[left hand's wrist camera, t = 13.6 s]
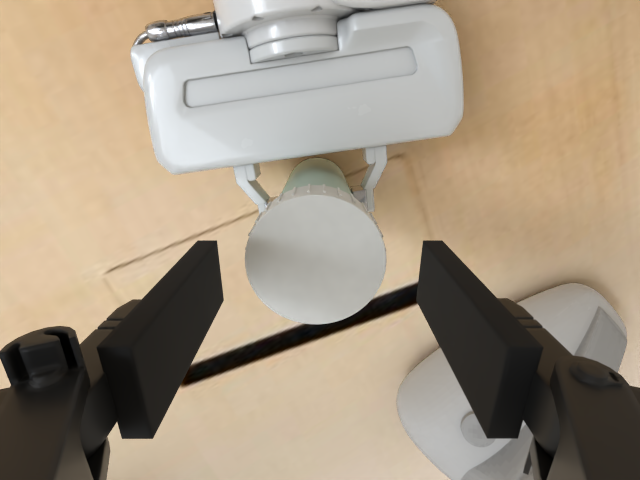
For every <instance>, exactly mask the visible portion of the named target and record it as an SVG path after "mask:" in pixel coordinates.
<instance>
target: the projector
mask: <svg viewBox="0 0 640 480" xmlns="http://www.w3.org/2000/svg"><path fill="white" fill-rule="evenodd" d="M516 304H518V305H520V306H522V307H523V308H524V309H525V310H526V311H527V312H529V313H530V314H531V315H532V316H533V317H534V319H536V320H537V321H538V322H539V323H540V324H541V325H542V327H543V328H545V329H546V330H547V331H548V332H549V333H550V334H551V335H552V336H553V337H555V338H556V339H557V340H558V341H559V342H560V343H561V344H562V345H563V346H564V347H565V348H566V349H567V350H568V351H569V352H570V353H571V354H572V355H574V356H581V357H586V358H589V359H592V360H595V361H598V362H600V363H602V364H604V365H606V366H608V367H610V368H611V369H613V370H614V371H616V372H617V373H618V370H619V367H620V364H621V361H622V358H623V355H624V352H625V349H626V345H627V339H626V338H627V332H626V328H625V325H624V323H623V321H622V319H621V318H620V316H619V315H618V314H617V312H616V311H615V309H614V308H613V307H612V306H611V305H610V303H609V302H608V301H607V300H606V299H605V298H604V297H603V296H602V295H601V294H600V293H599V292H597V291H596V290H594V289H592V288H591V287H589V286H586V285H583V284H579V283H568V284H563V285H560V286H557V287H554V288H551V289H548V290H545V291H543V292H541V293H538V294H536V295H533V296H531V297H529V298H526V299H524V300H522V301H520V302H517V303H516ZM397 410H398V414H399V417H400V420H401V422H402V425H403V427H404V429H405V431H406V432H407V434H408V436H409V437H410V438H411V440H412V441H413V442H414V443H415V445H416V446H417V447H418V448H419V449H420V450H421V452H422V453H423V454H424V455H425V456H426V457H427V458H428V459H429V460H430V461H431V462H432V463H433V464H434V465H435V466H436V467H437V468H438V469H439V470H440V471H441V472H443V473H444V474H445V475H446V476H447V477H449V478H450V479H451V480H534V477H533V470H532V466H531V468H530V471H529V474H528V475H527V474H524V473H523V470H524V464H525V461H526V458H527V454H528V451H529V448H530V444H531V441H532V438H533V434H532V433H531V431H530V429H529V428H528V426H527V425H526V423H525V422H524V420H523V422H522V426H521V429H520V433H519V437H518V439H487V437H486V435H485V433H484V431H483V430H482V428H481V426H480V424H479V422H478V420H477V418H476V416H475V414H474V412H473V410H472V408H471V406H470V404H469V402H468V400H467V398H466V396H465V394H464V392H463V390H462V388H461V387H460V385H459V383H458V381H457V379H456V377H455V375H454V373H453V371H452V369H451V367H450V365H449V363H448V361H447V359H446V357H445V355H444V353H443V351H442V349H441V347H440V348H438V349H437V350H436V351H434V352H433V353H432V354H430V355H429V356H428V357H426V358H425V359H424V360H423V361H422V362H420V363H419V364H418V365H417V366H416V367H415V368H414V369H413V370H412V371H411V372H410V373H409V374H408V375H407V376H406V377H405V379H404V380H403V382H402V383H401V385H400V387H399V390H398V394H397Z"/></svg>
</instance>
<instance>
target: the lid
mask: <svg viewBox="0 0 640 480" xmlns="http://www.w3.org/2000/svg"><path fill="white" fill-rule="evenodd" d="M255 223H256V224H254V226H253V228H252V230H251V231H250V233H249V235H248V236H250V237H249V239H248V242H247V246H246V249H245V250H246V252H245V267H246V272H247V276H248V279H249V282H250V284H251V286H252V288H253V290H254V292H255V293H256V295H257V296H258V297H259V299H260V300H261V301H262V302H263V303H264V304H265V305H266V306H267V307H268V308H270V309H271V310H272V311H274V312H275V313H277V314H279V315H281V316H282V317H284V318H287V319H290V320H292V321H296V322H300V323H306V324H327V323H332V322H336V321H339V320H342V319H345V318H347V317H349V316H351V315H353V314H355V313H356V312H358V311H359V310H360V309H362V308H363V307H364V306H365V305H366V304H367V303H368V302H369V301H370V300H371V299H372V298H373V297H374V295H375V294H376V292H377V291H378V289H379V287H380V285H381V283H382V280H383V278H384V274H385V269H386V248H385V245H384V242H383V239H382V237H383V235H382V233H381V231H380V229H379V227H378V225H376V224H377V222H376V220H375V219H374V217H373V215H372V213H369V212H368V210H367V209H366V207H365V205H364V203H363V202H362V203H361V202H359V201H358V200H357V199H356V198H354V196H353V194H348V193H346V192H344V191H342V190H340V188H339V187H337V188H333V187H329V186H325V184H323V185H310V184H308V186H302V187H298V188H296V187H294V188H293V189H292V190H290V191H287V192H285V193H284V194H283V193H280V195H279V197H277V198H276V199H275V200H273V201H272V202H271V201H270V202H269V203H268V205H267V207H266V209H265V210H264V211H263V212H262V211H261V213H260V214H259V216H258V218H257V219H256V221H255Z"/></svg>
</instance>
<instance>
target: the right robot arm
mask: <svg viewBox="0 0 640 480" xmlns="http://www.w3.org/2000/svg"><path fill="white" fill-rule="evenodd" d="M435 2H436V0H213V4H214V8H215V11H214V12H207V13H203V14H197V15H191V16H187V17H184V18H181V19H178V20H172V21H167V20H159V21H155V22H152V23H149V24H147V25H146V27H145V30H146V31H144V32H143V33H141V34H140V35H139V36H138V37H137V38H136V39H135V41H134V43H133V46H132V48H131V61H132V64H133V67H134V71H135V74H136V78H137V81H138V84H139V86H140V88H141V89H142V91H143V92H144V97H145V105H146V113H147V119H148V125H149V130H150V135H151V140H152V144H153V149H154V153H155V156H156V159H157V161H158V162H159V164H160V165H162V166H163V167H164V168H165V169H166V170H167V171H169V172H170V173H171V174H174V175H177V174H185V173H192V172H199V171H206V170H213V169H220V168H227V167H233V168H234V173H235V177H236V182H237V184H238V185H239V186H240V187H241V188H242V190H243V191H244V192H245V193H246V194H247V195H248V196H249V197H250V198H251V200H252V201H253V202H254V203H255V204H258V209H259V213H261V211H262V212H263V211H264V210H265V209H266V207H267V205H268V203H269V202H270V201H271V202H272V201H273V200H275V199H276V198H277V197H270V198H269V196H268V194H267V193H266V192H265V191H264V189H263V188H262V187H261V186H260V184H259V183H258V182H257V181H256V178H257V177H258V176H259V175H260V174H261V172H260V167H259V163H262V162H270V161H277V160H284V159H291V158H298V157H305V156H312V155H319V154H326V153H333V152H340V151H347V150H354V149H361V148H362V153H363V160H364V161H365V162H366V163H368V164H369V167H368V169H367V171H366V174H365V176H364V178H363V181H362V183H361V185H358V186H352V187H350V188H351V193H352V194H353V196H354V198H356V199H357V200H358V201H359V202H361V203H362V202H363V203H364V205H365V207H366V209H367V210H368V212H374V209H375V206H374V195H373V188H375V187H376V185H377V183H378V180H379V178H380V176H381V174H382V172H383V170H384V168H385V166H386V164H387V150H386V145H390V144H397V143H404V142H411V141H418V140H425V139H432V138H439V137H446V136H450V135H451V134H452V133H453V132H454V131H455V129H456V128H457V126H458V125H459V123H460V121H461V120H462V117H463V111H464V90H463V73H462V62H461V54H460V46H459V39H458V34H457V31H456V28H455V25H454V23H453V21H452V19H451V17H450V16H449V14H448V13H447V12H446V11H445V10H443V9H442V8H440V7H438V6H436V5H433V4H434V3H435ZM148 38H149V40H150V41H151V42H152V43H146V44H142V43H143V42H144V41H145V40H147V39H148Z"/></svg>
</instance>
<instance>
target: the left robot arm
mask: <svg viewBox="0 0 640 480" xmlns="http://www.w3.org/2000/svg"><path fill="white" fill-rule="evenodd" d="M223 301H224V299H223V290H222V282H221V273H220V264H219V256H218V247H217V241H197V242H196V243H195V244H194V245H193V246H192V247H191V248H190V249H189V250H188V252H187V253H186V254H185V255H184V256H183V257H182V258H181V259H180V260H179V261H178V262H177V263H176V264H175V265H174V266H173V267H172V268H171V269H170V270H169V271H168V273H167V274H166V275H165V276H164V277H163V278H162V279H161V280H160V281H159V282H158V283H157V284H156V285H155V286H154V287H153V288H152V289H151V290H150V291H149V293H148V294H147V295H146V296H145V297H144V298H143V299H142V300H131V301H129V302H128V303H126V304H124V305H122V306H121V307H119V308H117V309H116V310H115V311H114V312H113V313H112V314H111V315H110V316H109V317H108V318H107V320H106V321H104V322H103V323H102V324H101V325H100V326H99V327H98V329H95V330H94V331H93V332H92V333H91V334H90V335H89V336H88V337H87V338H86V339H85V340H84V341H83V342H82V343H81V344H80V345H79V342H78V338H77V335H76V332H75V330H73V329H72V328H70V327H64V326H56V327H47V328H43V329H40V330H36V331H33V332H30V333H28V334H25V335H23V336H21V337H18V338H17V339H15V340H14V341H12V342H10V343H9V344H7V345H6V346H5V347H4V348H3V349H2V350H1V351H0V359H1V361H2V364H3V366H4V369H5V371H6V374H7V376H8V378H9V381H10V383H11V386H10V388H5V389H0V480H106V478H107V471H108V463H109V456H110V446H109V441H108V438H107V436H108V434H109V433H110V431H111V430H112V428H113V427H114V425H115V424H116V422H118V426H119V429H120V433H121V437H122V439H153V437H154V435H155V433H156V431H157V430H158V428H159V426H160V424H161V422H162V420H163V418H164V416H165V414H166V412H167V410H168V408H169V406H170V404H171V402H172V400H173V398H174V396H175V394H176V392H177V390H178V388H179V387H180V385H181V383H182V381H183V379H184V377H185V375H186V373H187V371H188V369H189V367H190V365H191V363H192V361H193V359H194V357H195V355H196V353H197V351H198V349H199V347H200V346H201V344H202V342H203V340H204V338H205V336H206V334H207V332H208V330H209V328H210V326H211V324H212V322H213V320H214V318H215V316H216V314H217V312H218V310H219V308H220V306H221V305H222V303H223ZM416 301H417V303H418V305H419V306H420V308H421V310H422V312H423V314H424V316H425V318H426V320H427V322H428V324H429V326H430V328H431V330H432V332H433V334H434V336H435V338H436V340H437V342H438V344H439V346H440V347H441V349H442V351H443V353H444V355H445V357H446V359H447V361H448V363H449V365H450V367H451V369H452V371H453V373H454V375H455V377H456V379H457V381H458V383H459V385H460V387H461V388H462V390H463V392H464V394H465V396H466V398H467V400H468V402H469V404H470V406H471V408H472V410H473V412H474V414H475V416H476V418H477V420H478V422H479V424H480V426H481V428H482V430H483V431H484V433H485V435H486V437H487V439H518V437H519V433H520V429H521V426H522V422H523V420H524V422H525V423H526V425H527V426H528V428H529V429H530V431H531V433H532V434H533V438H532V441H531V444H530V448H529V451H528V454H527V458H526V461H525V464H524V470H523V473H524V474H527V475H528V474H529V471H530V468H531V466H532V470H533V477H534V480H640V388H638V387H633V386H629V384H628V383H627V382H626V380H625V379H624V378H623V377H622V376H621V375H620V374H618V373H617V372H616V371H614V370H613V369H611V368H610V367H608V366H606V365H604V364H602V363H600V362H598V361H595V360H592V359H589V358H586V357H581V356H574V355H572V354H571V353H570V352H569V351H568V350H567V349H566V348H565V347H564V346H563V345H562V344H561V343H560V342H559V341H558V340H557V339H556V338H555V337H553V336H552V335H551V334H550V333H549V332H548V331H547V330H546V329H545V328H543V327H542V325H541V324H540V323H539V322H538V321H537V320H536V319H534V317H533V316H532V315H531V314H530V313H529V312H527V311H526V310H525V309H524V308H523V307H522V306H520V305H518V304H516V303H515V302H513V301H511V300H509V299H507V298H496V297H495V296H494V295H493V294H492V293H491V291H490V290H489V289H488V288H487V287H486V286H485V285H484V284H483V283H482V282H481V281H480V280H479V279H478V278H477V277H476V276H475V275H474V274H473V273H472V271H471V270H470V269H469V268H468V267H467V266H466V265H465V264H464V263H463V262H462V261H461V260H460V259H459V258H458V257H457V256H456V255H455V254H454V253H453V252H452V250H451V249H450V248H449V247H448V246H447V245H446V244H445V243H444V242H443V241H423V247H422V256H421V264H420V273H419V282H418V290H417V299H416Z"/></svg>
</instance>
